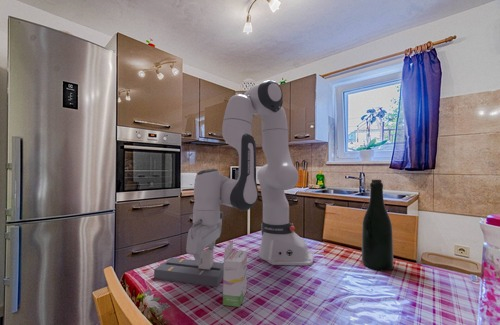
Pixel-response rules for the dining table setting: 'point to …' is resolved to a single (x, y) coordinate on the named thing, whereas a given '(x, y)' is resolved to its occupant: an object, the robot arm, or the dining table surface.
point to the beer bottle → (377, 232)
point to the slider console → (189, 272)
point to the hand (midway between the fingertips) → (204, 258)
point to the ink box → (234, 276)
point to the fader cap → (206, 260)
